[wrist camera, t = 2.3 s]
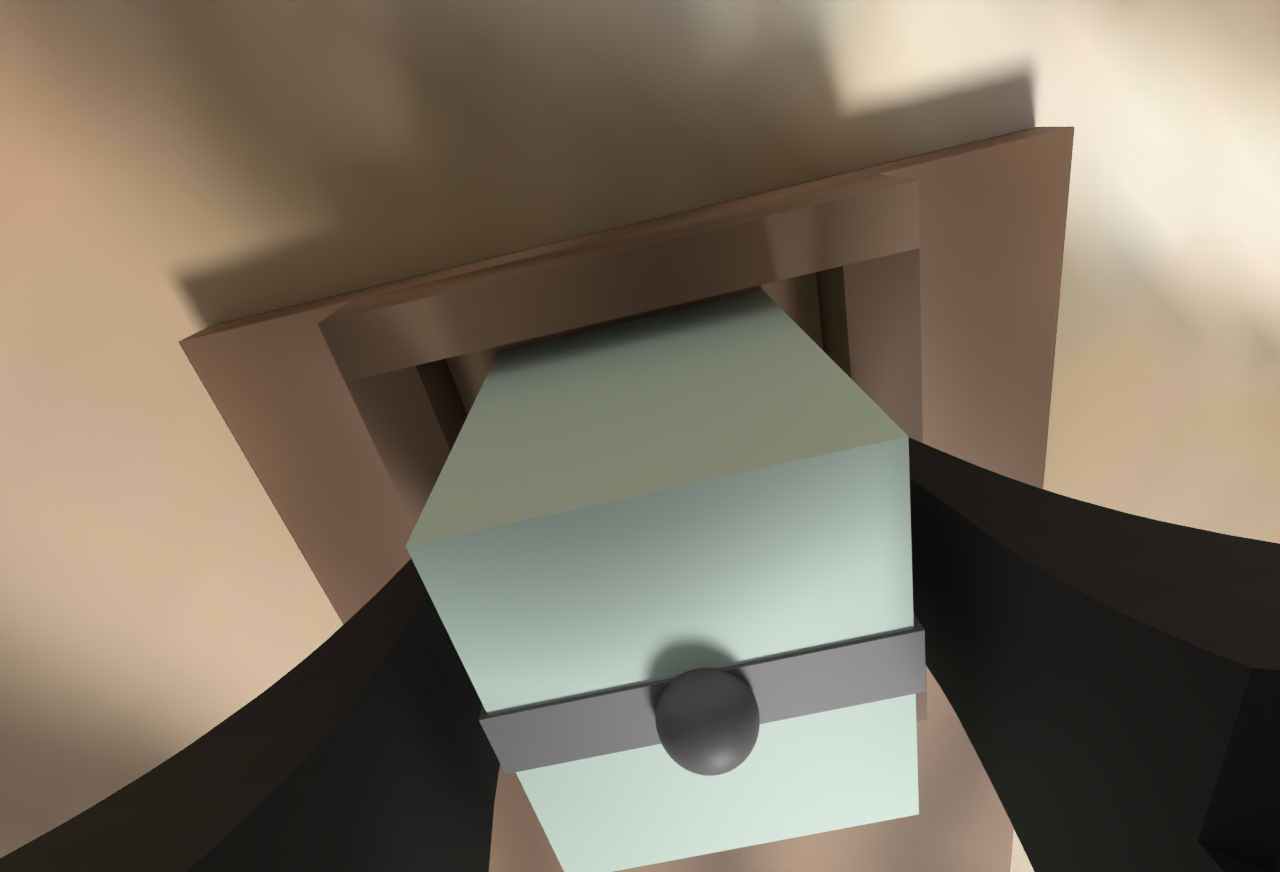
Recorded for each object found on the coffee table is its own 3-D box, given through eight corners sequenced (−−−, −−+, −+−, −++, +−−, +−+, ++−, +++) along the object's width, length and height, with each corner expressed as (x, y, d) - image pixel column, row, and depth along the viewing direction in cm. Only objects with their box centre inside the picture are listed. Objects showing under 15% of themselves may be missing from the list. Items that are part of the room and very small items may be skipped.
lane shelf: (560, 959, 23) (556, 1048, 21) (210, 326, 12) (120, 370, 10) (990, 882, 22) (1033, 966, 20) (1037, 126, 11) (1144, 126, 9)
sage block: (577, 595, 14) (557, 947, 8) (493, 351, 12) (369, 602, 5) (800, 547, 14) (956, 876, 8) (767, 288, 11) (962, 476, 5)
